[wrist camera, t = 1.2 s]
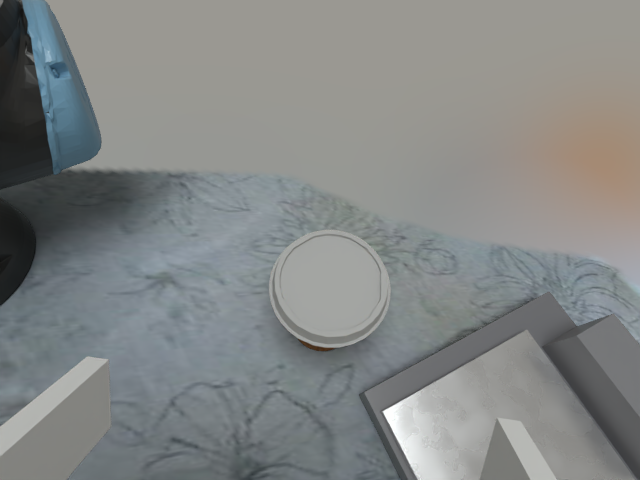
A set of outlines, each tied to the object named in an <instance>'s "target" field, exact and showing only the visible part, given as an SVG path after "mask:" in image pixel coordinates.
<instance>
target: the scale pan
mask: <svg viewBox="0 0 640 480" xmlns="http://www.w3.org/2000/svg"><path fill="white" fill-rule="evenodd" d="M381 414H382V416H383V418H384V420H385V422H386V424H387V426H388V428H389V429H390V431H391V433H392V435H393V437H394V439H395V441H396V443H397V445H398V447H399V449H400V451H401V453H402V455H403V457H404V459H405V461H406V463H407V465H408V467H409V469H410V471H411V473H412V475H413V477H414V479H415V480H480V476H481V472H482V469H483V465H484V462H485V458H486V455H487V451H488V447H489V444H490V440H491V437H492V433H493V430H494V426H495V422H496V419H497V418H503V419H510V420H517V421H521V422H522V424H523V426H524V427H525V429H526V430H527V432H528V434H529V435H530V437H531V439H532V440H533V442H534V443H535V445H536V447H537V448H538V450H539V451H540V453H541V455H542V456H543V458H544V460H545V461H546V463H547V464H548V466H549V468H550V469H551V471H552V472H553V474H554V476H555V477H556V479H557V480H635V478H634V477H633V476H632V474H631V473H630V471H629V470H628V469H627V467H626V466H625V465H624V463H623V462H622V460H621V459H620V458H619V456H618V455H617V453H616V452H615V451H614V449H613V448H612V447H611V445H610V444H609V442H608V441H607V440H606V438H605V437H604V435H603V434H602V433H601V431H600V430H599V428H598V427H597V426H596V424H595V423H594V422H593V420H592V419H591V417H590V416H589V415H588V413H587V412H586V410H585V409H584V408H583V406H582V405H581V404H580V402H579V401H578V399H577V398H576V397H575V395H574V394H573V392H572V391H571V390H570V388H569V387H568V386H567V384H566V383H565V381H564V380H563V379H562V377H561V376H560V374H559V373H558V372H557V370H556V369H555V367H554V366H553V365H552V363H551V362H550V361H549V359H548V358H547V356H546V355H545V354H544V352H543V351H542V349H541V348H540V347H539V345H538V344H537V343H536V341H535V340H534V338H533V337H532V336H531V334H530V333H529V331H528V330H525V331H523V332H520V333H519V334H517V335H515V336H513V337H512V338H510V339H508V340H506V341H505V342H503V343H501V344H499V345H498V346H496V347H494V348H492V349H490V350H489V351H487V352H485V353H483V354H482V355H480V356H478V357H476V358H475V359H473V360H471V361H469V362H468V363H466V364H464V365H462V366H461V367H459V368H457V369H455V370H453V371H452V372H450V373H448V374H446V375H445V376H443V377H441V378H439V379H438V380H436V381H434V382H432V383H431V384H429V385H427V386H425V387H423V388H422V389H420V390H418V391H416V392H415V393H413V394H411V395H409V396H408V397H406V398H404V399H402V400H401V401H399V402H397V403H395V404H394V405H392V406H390V407H388V408H386V409H385V410H383V411H381Z"/></svg>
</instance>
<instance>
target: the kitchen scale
mask: <svg viewBox="0 0 640 480" xmlns="http://www.w3.org/2000/svg"><path fill="white" fill-rule="evenodd" d="M525 330H528V331H529V333H530V334H531V336H532V337H533V338H534V340H535V341H536V343H537V344H538V345H539V347H540V348H541V349H542V351H543V352H544V354H545V355H546V356H547V358H548V359H549V361H550V362H551V363H552V365H553V366H554V367H555V369H556V370H557V372H558V373H559V374H560V376H561V377H562V379H563V380H564V381H565V383H566V384H567V386H568V387H569V388H570V390H571V391H572V392H573V394H574V395H575V397H576V398H577V399H578V401H579V402H580V404H581V405H582V406H583V408H584V409H585V410H586V412H587V413H588V415H589V416H590V417H591V419H592V420H593V422H594V423H595V424H596V426H597V427H598V428H599V430H600V431H601V433H602V434H603V435H604V437H605V438H606V440H607V441H608V442H609V444H610V445H611V447H612V448H613V449H614V451H615V452H616V453H617V455H618V456H619V458H620V459H621V460H622V462H623V463H624V465H625V466H626V467H627V469H628V470H629V471H630V473H631V474H632V476H633V477H634V478H635V480H640V345H639V343H638V342H637V341H636V340H635V339H634V337H633V336H632V335H631V334H630V333H629V331H628V330H627V329H626V328H625V327H624V325H623V324H622V323H621V322H620V321H619V319H618V318H617V317H616V316H615V315H614V314H611V315H608V316H605V317H603V318H600V319H597V320H594V321H591V322H588V323H586V324H583V325H580V326H576V325H575V324H574V322H573V321H572V320H571V319H570V317H569V316H568V315H567V313H566V312H565V311H564V310H563V308H562V307H561V306H560V304H559V303H558V302H557V301H556V299H555V298H554V297H553V295H552V294H551V293H550V292H547V293H545V294H543V295H542V296H540V297H538V298H536V299H534V300H532V301H530V302H528V303H527V304H525V305H523V306H521V307H519V308H517V309H516V310H514V311H512V312H510V313H508V314H506V315H505V316H503V317H501V318H499V319H497V320H495V321H494V322H492V323H490V324H488V325H486V326H484V327H483V328H481V329H479V330H477V331H475V332H473V333H472V334H470V335H468V336H466V337H464V338H462V339H461V340H459V341H457V342H455V343H453V344H451V345H450V346H448V347H446V348H444V349H442V350H440V351H439V352H437V353H435V354H433V355H431V356H429V357H428V358H426V359H424V360H422V361H420V362H418V363H417V364H415V365H413V366H411V367H409V368H407V369H406V370H404V371H402V372H400V373H398V374H396V375H395V376H393V377H391V378H389V379H387V380H385V381H384V382H382V383H380V384H378V385H376V386H374V387H373V388H371V389H369V390H367V391H365V392H363V393H362V394H360V395H359V396H360V398H361V400H362V402H363V404H364V406H365V408H366V410H367V412H368V414H369V416H370V418H371V420H372V422H373V424H374V426H375V428H376V430H377V432H378V434H379V436H380V438H381V440H382V442H383V444H384V446H385V448H386V450H387V452H388V454H389V456H390V458H391V460H392V462H393V464H394V466H395V468H396V470H397V472H398V474H399V476H400V478H401V480H415V479H414V477H413V475H412V473H411V471H410V469H409V467H408V465H407V463H406V461H405V459H404V457H403V455H402V453H401V451H400V449H399V447H398V445H397V443H396V441H395V439H394V437H393V435H392V433H391V431H390V429H389V428H388V426H387V424H386V422H385V420H384V418H383V416H382V414H381V411H383V410H385V409H386V408H388V407H390V406H392V405H394V404H395V403H397V402H399V401H401V400H402V399H404V398H406V397H408V396H409V395H411V394H413V393H415V392H416V391H418V390H420V389H422V388H423V387H425V386H427V385H429V384H431V383H432V382H434V381H436V380H438V379H439V378H441V377H443V376H445V375H446V374H448V373H450V372H452V371H453V370H455V369H457V368H459V367H461V366H462V365H464V364H466V363H468V362H469V361H471V360H473V359H475V358H476V357H478V356H480V355H482V354H483V353H485V352H487V351H489V350H490V349H492V348H494V347H496V346H498V345H499V344H501V343H503V342H505V341H506V340H508V339H510V338H512V337H513V336H515V335H517V334H519V333H520V332H523V331H525Z"/></svg>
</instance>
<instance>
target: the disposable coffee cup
mask: <svg viewBox="0 0 640 480" xmlns="http://www.w3.org/2000/svg"><path fill="white" fill-rule="evenodd" d="M390 294H391V288H390V280H389V276H388V273H387V270H386V268H385V266H384V264H383V262H382V260H381V259H380V257H379V256H378V254H377V253H376V251H375V250H374V249H373V248H372V247H371V246H370V245H368V244H367V243H366V242H365V241H364V240H362V239H360V238H359V237H357V236H355V235H352V234H350V233H347V232H344V231H338V230H321V231H316V232H312V233H309V234H306V235H304V236H302V237H300V238H299V239H297V240H296V241H294V242H293V243H292V244H290V245H289V246H288V247H287V248H286V249H285V250H284V251H283V252H282V253H281V254H280V256H279V257H278V259H277V260H276V262H275V264H274V266H273V269H272V272H271V276H270V282H269V295H270V299H271V304H272V307H273V309H274V312H275V314H276V316H277V318H278V319H279V321H280V322H281V324H282V325H283V326H284V327H285V328H286V329H287V330H288V331H289V332H290V333H292V334H293V335H294V336H295V337H297V338H298V340H299V341H300V342H301V343H302V344H303V345H305V346H306V347H308V348H310V349H313V350H316V351H329V350H332V349H335V348H339V347H345V346H349V345H352V344H354V343H357V342H359V341H361V340H362V339H364V338H366V337H367V336H368V335H370V334H371V333H372V332H373V331H374V330H375V329H376V328H377V327H378V326H379V324H380V323H381V322H382V320H383V319H384V316H385V314H386V312H387V310H388V307H389V302H390Z"/></svg>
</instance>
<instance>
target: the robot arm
mask: <svg viewBox="0 0 640 480" xmlns="http://www.w3.org/2000/svg"><path fill="white" fill-rule="evenodd" d="M100 148H101V134H100V131H99V127H98V123H97V120H96V117H95V114H94V111H93V108H92V105H91V102H90V99H89V97H88V94H87V91H86V88H85V86H84V83H83V80H82V78H81V75H80V73H79V70H78V68H77V65H76V63H75V60H74V57H73V55H72V53H71V50H70V48H69V45H68V43H67V41H66V38H65V36H64V34H63V32H62V29H61V27H60V25H59V23H58V21H57V19H56V17H55V15H54V14H53V12H52V11H51V9H50V6H49V5H48V3H47V2H46V1H45V0H0V189H4V188H7V187H11V186H14V185H17V184H21V183H24V182H28V181H31V180H35V179H38V178H41V177H45V176H48V175H52V174H53V175H56V174H58V173H60V172H61V170H63V169H66V168H69V167H71V166H74V165H77V164H80V163H82V162H85V161H88V160H90V159H91V158H93V157H94V156H96V155H97V153H98V151H99V150H100ZM34 251H35V236H34V231H33V229H32V226H31V224H30V222H29V221H28V219H27V218H26V217H25V216H24V215H23V214H22V213H21V212H20V211H18V210H17V209H16V208H14V207H13V206H12V205H10V204H9V203H8V202H6V201H5V200H3V199H1V198H0V304H1V303H3V302H4V301H5V300H6V299H7V298H8V297H9V296H10V295H11V294H12V293H13V292H14V291H15V289H16V288H17V287H18V286H19V284H20V283H21V282H22V280H23V279H24V277H25V275H26V274H27V272H28V270H29V268H30V265H31V263H32V260H33V256H34ZM110 428H111V406H110V378H109V360H108V359H101V358H95V357H88V356H87V357H86V358H85V359H84V360H82V361H81V362H80V363H79V364H77V365H76V366H75V367H74V368H72V369H71V370H70V371H69V372H67V373H66V374H65V375H64V376H62V377H61V378H60V379H59V380H58V381H56V382H55V383H54V384H53V385H51V386H50V387H49V388H48V389H46V390H45V391H44V392H43V393H41V394H40V395H39V396H38V397H36V398H35V399H34V400H33V401H32V402H30V403H29V404H28V405H27V406H25V407H24V408H23V409H22V410H20V411H19V412H18V413H17V414H15V415H14V416H13V417H12V418H10V419H9V420H8V421H7V422H6V423H4V424H3V425H2V426H1V427H0V480H67V478H68V477H69V476H70V475H71V474H72V472H73V471H74V470H75V469H76V468H77V467H78V465H79V464H80V463H81V462H82V461H83V459H84V458H85V457H86V456H87V455H88V454H89V452H90V451H91V450H92V449H93V448H94V446H95V445H96V444H97V443H98V442H99V441H100V439H101V438H102V437H103V436H104V435H105V433H106V432H107V431H108V430H109V429H110ZM480 480H557V479H556V477H555V476H554V474H553V472H552V471H551V469H550V468H549V466H548V464H547V463H546V461H545V460H544V458H543V456H542V455H541V453H540V451H539V450H538V448H537V447H536V445H535V443H534V442H533V440H532V439H531V437H530V435H529V434H528V432H527V430H526V429H525V427H524V426H523V424H522V422H521V421H517V420H510V419H503V418H497V419H496V422H495V426H494V430H493V433H492V437H491V440H490V444H489V447H488V451H487V455H486V458H485V462H484V465H483V469H482V472H481V476H480Z"/></svg>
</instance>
